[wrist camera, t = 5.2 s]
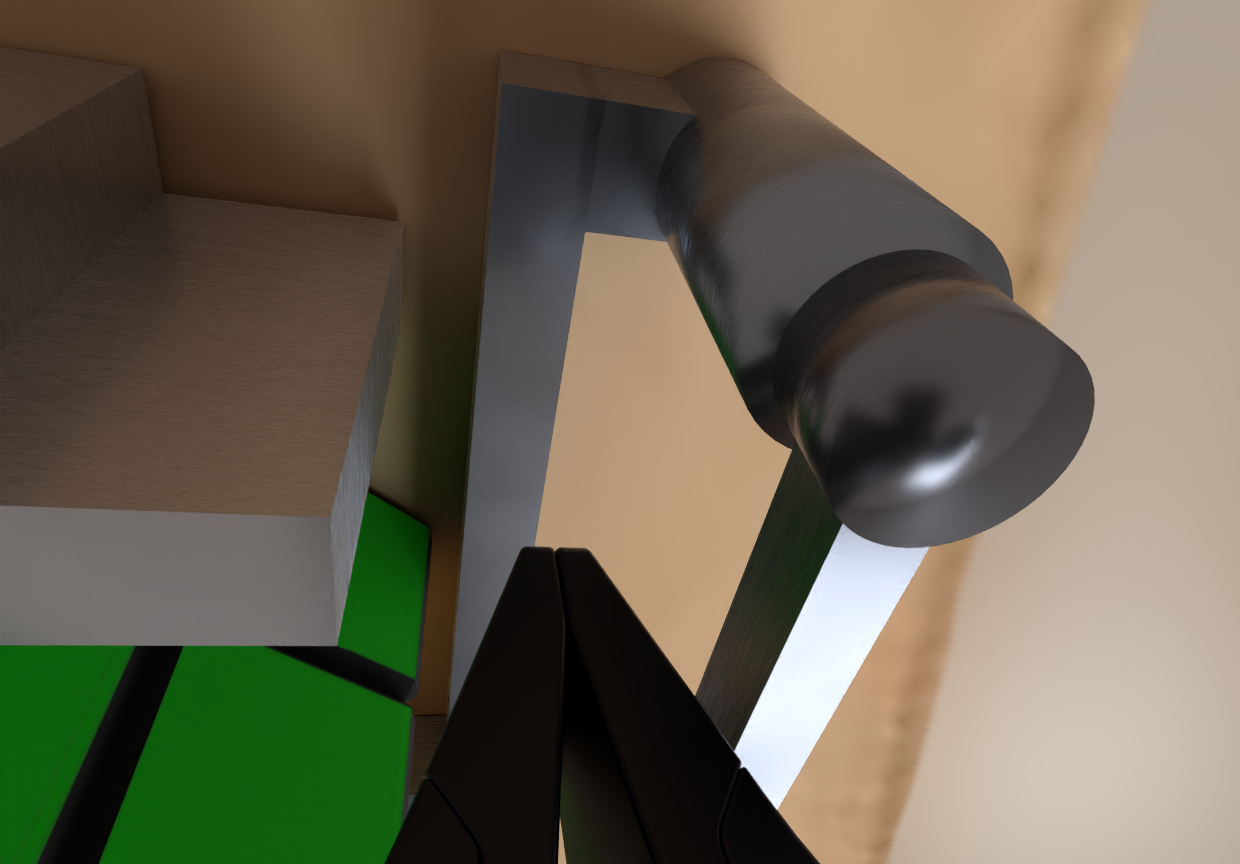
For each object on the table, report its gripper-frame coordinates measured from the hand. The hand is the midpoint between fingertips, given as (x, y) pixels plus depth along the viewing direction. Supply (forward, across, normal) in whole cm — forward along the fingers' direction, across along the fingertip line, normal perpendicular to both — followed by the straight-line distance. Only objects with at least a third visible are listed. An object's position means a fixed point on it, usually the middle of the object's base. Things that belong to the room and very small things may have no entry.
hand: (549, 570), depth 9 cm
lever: (0, -3, +1) cm, 3 cm away
